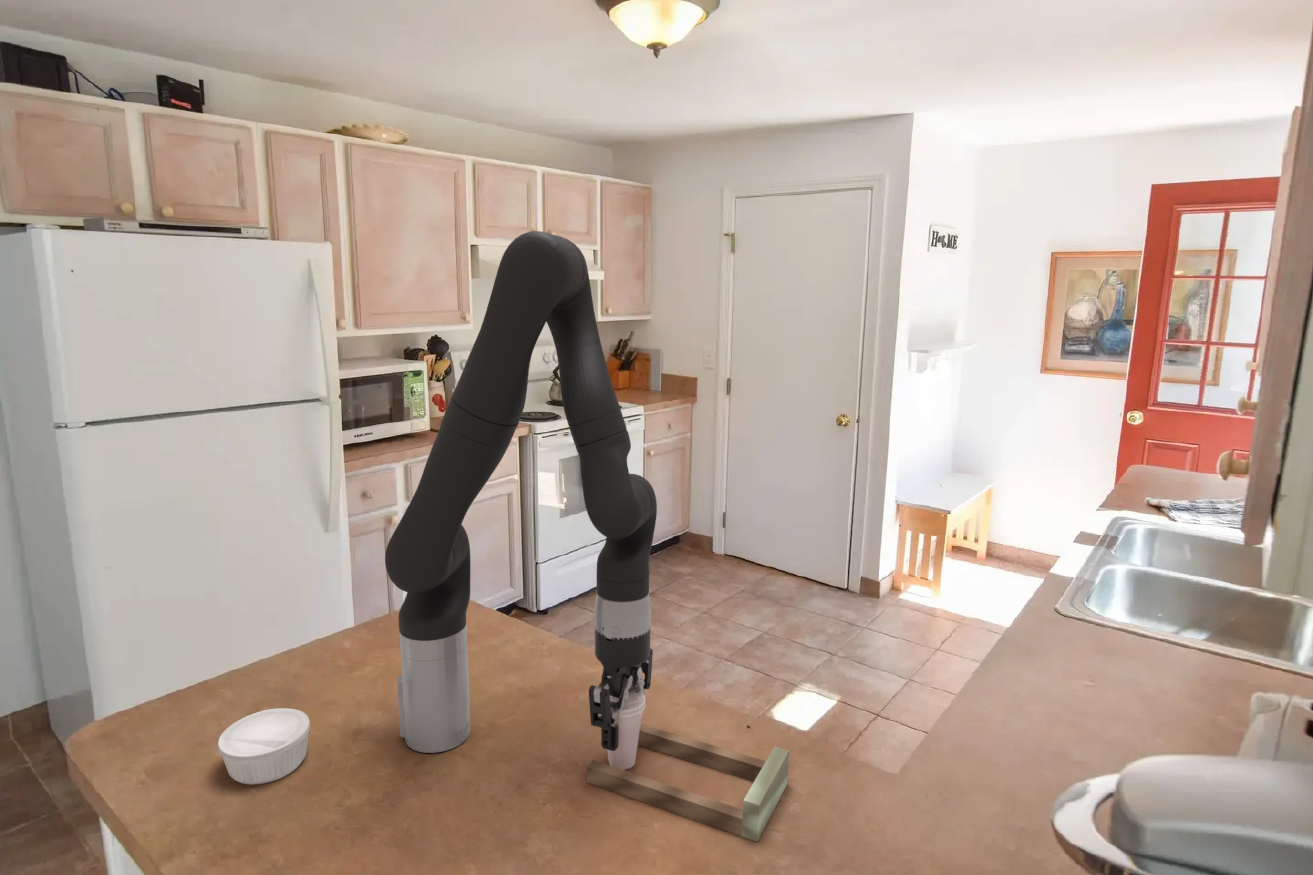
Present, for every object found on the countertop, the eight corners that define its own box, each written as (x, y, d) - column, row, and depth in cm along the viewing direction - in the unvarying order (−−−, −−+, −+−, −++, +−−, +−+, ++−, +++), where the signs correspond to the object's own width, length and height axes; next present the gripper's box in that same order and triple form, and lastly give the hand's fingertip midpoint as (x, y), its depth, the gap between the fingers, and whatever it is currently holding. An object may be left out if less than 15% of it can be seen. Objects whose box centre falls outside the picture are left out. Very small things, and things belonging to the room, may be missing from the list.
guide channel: (586, 782, 102) (586, 748, 101) (630, 735, 112) (630, 704, 111) (757, 841, 91) (759, 805, 90) (787, 783, 102) (789, 750, 101)
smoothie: (639, 778, 102) (640, 683, 100) (593, 772, 104) (593, 678, 101) (649, 751, 109) (650, 660, 106) (605, 745, 110) (606, 655, 107)
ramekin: (219, 800, 97) (215, 764, 96) (222, 753, 107) (219, 719, 106) (315, 776, 102) (312, 741, 101) (309, 732, 112) (307, 700, 111)
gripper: (624, 598, 110) (623, 703, 113) (569, 638, 97) (570, 755, 101) (670, 608, 107) (668, 716, 110) (621, 651, 94) (620, 772, 97)
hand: (622, 734), depth 105 cm, fingers closed on smoothie, 6 cm apart
